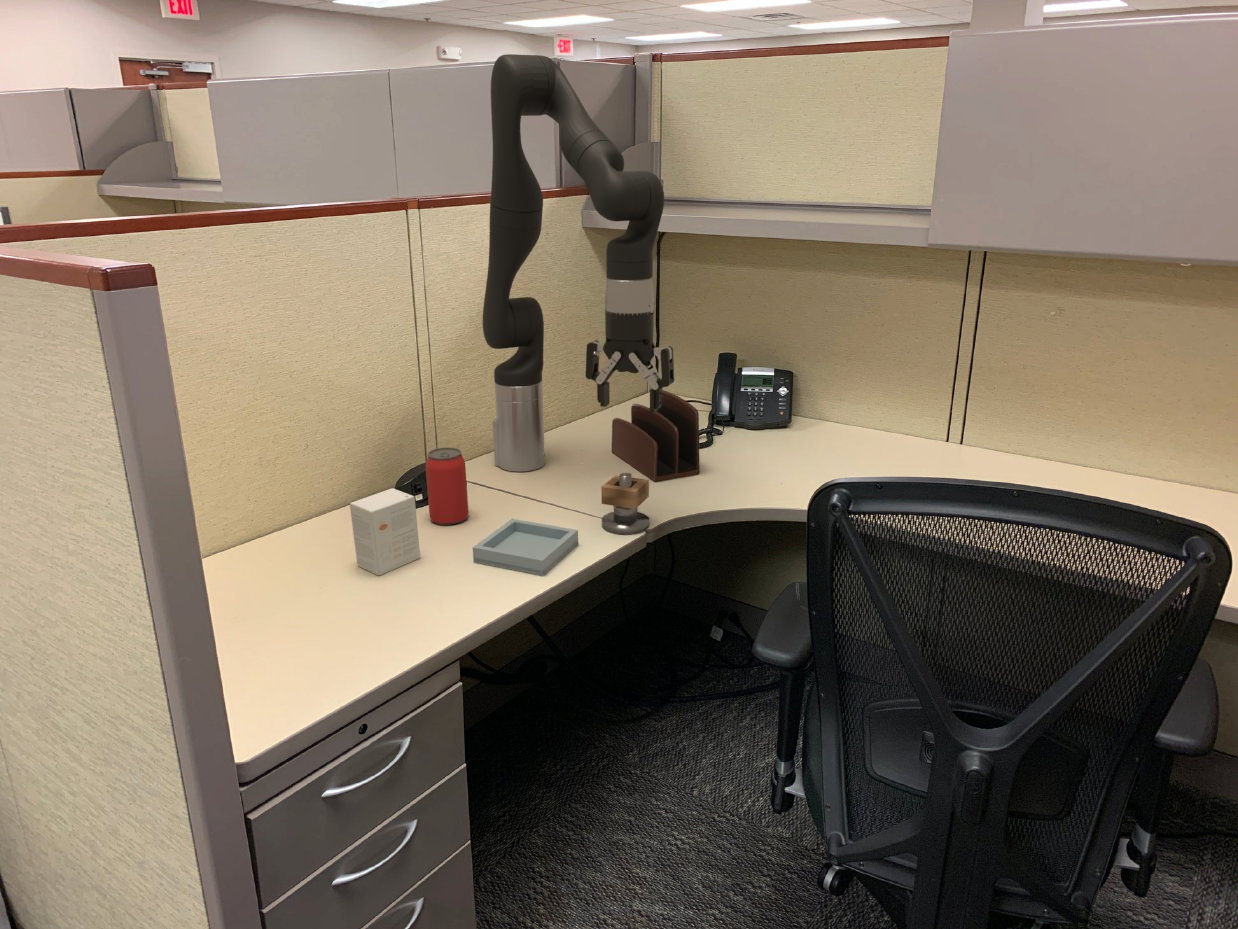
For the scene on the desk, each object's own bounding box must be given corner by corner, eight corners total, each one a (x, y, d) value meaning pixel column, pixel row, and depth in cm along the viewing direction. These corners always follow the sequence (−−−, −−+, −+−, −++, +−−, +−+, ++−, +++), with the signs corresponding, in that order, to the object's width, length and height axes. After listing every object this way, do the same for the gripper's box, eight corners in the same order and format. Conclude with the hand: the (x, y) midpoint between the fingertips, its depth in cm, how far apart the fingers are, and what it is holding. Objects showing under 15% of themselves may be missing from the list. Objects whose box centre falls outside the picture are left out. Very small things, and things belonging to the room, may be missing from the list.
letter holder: (653, 446, 186) (653, 382, 181) (700, 475, 169) (702, 405, 164) (610, 453, 182) (610, 387, 177) (654, 483, 165) (655, 412, 160)
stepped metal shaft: (593, 530, 144) (593, 479, 141) (613, 512, 151) (612, 464, 148) (638, 537, 141) (638, 486, 138) (656, 519, 148) (656, 470, 145)
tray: (473, 562, 133) (472, 547, 132) (512, 532, 144) (512, 518, 143) (543, 575, 129) (542, 560, 128) (578, 544, 139) (577, 530, 138)
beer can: (431, 528, 145) (425, 460, 141) (428, 513, 151) (423, 448, 147) (471, 523, 147) (466, 456, 143) (466, 509, 153) (462, 444, 149)
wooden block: (601, 503, 143) (601, 486, 142) (616, 491, 148) (615, 475, 147) (635, 509, 141) (635, 492, 140) (648, 496, 146) (648, 479, 145)
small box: (399, 549, 138) (392, 487, 134) (421, 558, 135) (415, 495, 131) (355, 566, 132) (348, 502, 129) (378, 577, 129) (371, 511, 125)
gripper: (577, 308, 134) (579, 409, 139) (664, 314, 129) (663, 419, 134) (597, 301, 140) (598, 398, 146) (680, 306, 135) (679, 407, 141)
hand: (629, 408), depth 140 cm, fingers open, 8 cm apart
